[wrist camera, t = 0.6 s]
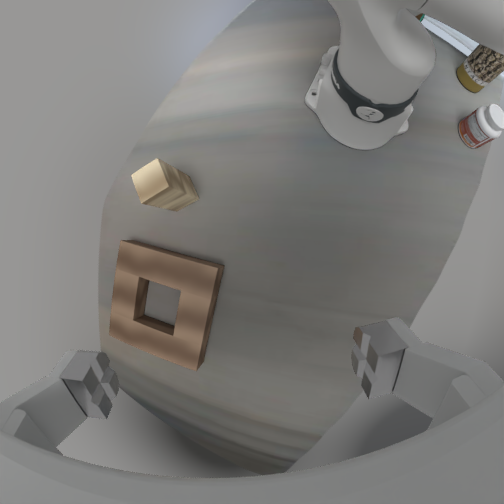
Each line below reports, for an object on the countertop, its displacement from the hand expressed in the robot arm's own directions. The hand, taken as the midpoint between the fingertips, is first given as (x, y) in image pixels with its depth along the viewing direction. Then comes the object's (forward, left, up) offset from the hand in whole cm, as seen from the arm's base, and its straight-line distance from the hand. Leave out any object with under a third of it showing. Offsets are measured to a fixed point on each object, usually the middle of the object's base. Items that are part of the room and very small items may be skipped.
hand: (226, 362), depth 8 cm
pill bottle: (-33, +31, -36) cm, 59 cm away
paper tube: (-48, +32, -36) cm, 69 cm away
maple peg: (-7, -19, -36) cm, 41 cm away
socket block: (+12, -18, -36) cm, 42 cm away
